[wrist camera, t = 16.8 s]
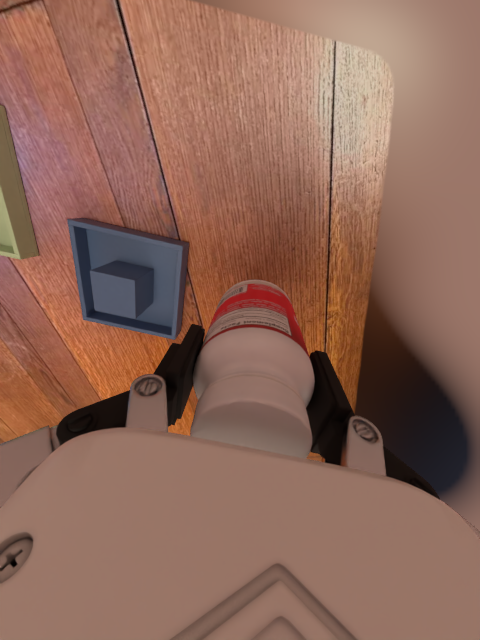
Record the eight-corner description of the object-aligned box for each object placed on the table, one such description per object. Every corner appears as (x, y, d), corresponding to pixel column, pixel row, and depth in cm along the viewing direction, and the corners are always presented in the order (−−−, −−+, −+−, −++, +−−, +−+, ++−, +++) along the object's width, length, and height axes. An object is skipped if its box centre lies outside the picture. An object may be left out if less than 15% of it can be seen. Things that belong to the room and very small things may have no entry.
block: (116, 260, 28) (89, 270, 23) (153, 268, 28) (134, 280, 24) (118, 295, 30) (94, 310, 26) (153, 302, 30) (135, 319, 26)
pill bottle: (278, 350, 19) (298, 497, 10) (212, 334, 19) (165, 469, 10) (304, 287, 16) (368, 409, 7) (226, 268, 16) (176, 366, 6)
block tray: (83, 217, 26) (67, 218, 24) (189, 242, 27) (182, 246, 24) (95, 311, 33) (82, 319, 30) (180, 330, 33) (175, 339, 31)
